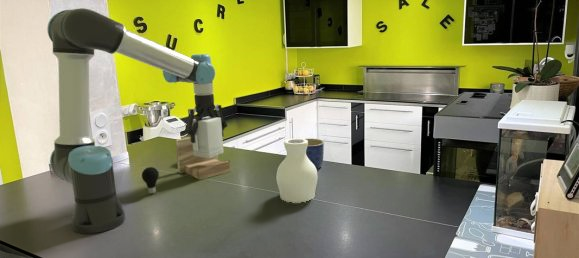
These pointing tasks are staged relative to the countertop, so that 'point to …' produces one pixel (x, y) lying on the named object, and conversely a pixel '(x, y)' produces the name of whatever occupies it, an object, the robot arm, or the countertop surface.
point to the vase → (296, 173)
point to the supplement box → (209, 137)
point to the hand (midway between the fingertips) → (208, 147)
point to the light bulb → (150, 178)
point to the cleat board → (198, 161)
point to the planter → (315, 151)
